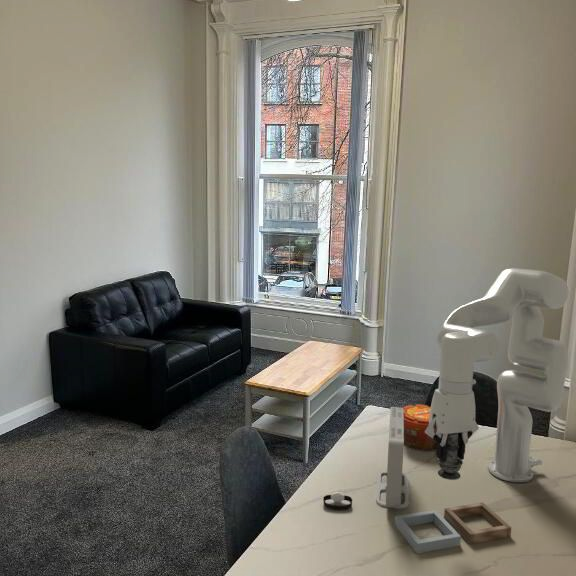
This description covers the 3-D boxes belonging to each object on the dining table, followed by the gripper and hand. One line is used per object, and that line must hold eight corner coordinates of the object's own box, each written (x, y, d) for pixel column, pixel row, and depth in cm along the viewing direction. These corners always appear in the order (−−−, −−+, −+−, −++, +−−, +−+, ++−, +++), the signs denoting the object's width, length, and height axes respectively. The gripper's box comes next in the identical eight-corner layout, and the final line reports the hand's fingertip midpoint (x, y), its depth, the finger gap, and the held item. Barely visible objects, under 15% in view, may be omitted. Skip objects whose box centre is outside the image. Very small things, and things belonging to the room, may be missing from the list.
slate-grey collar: (435, 518, 141) (435, 509, 141) (460, 545, 130) (460, 536, 130) (394, 525, 138) (395, 516, 138) (417, 553, 127) (417, 543, 127)
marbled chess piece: (432, 468, 135) (436, 422, 133) (455, 468, 136) (459, 422, 134) (441, 480, 130) (445, 432, 128) (465, 480, 130) (469, 432, 128)
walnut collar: (482, 511, 145) (482, 502, 144) (510, 536, 134) (511, 527, 134) (444, 517, 142) (444, 508, 141) (469, 544, 131) (470, 534, 131)
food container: (414, 428, 196) (416, 400, 194) (455, 443, 184) (457, 413, 183) (387, 441, 185) (388, 411, 184) (428, 458, 174) (430, 426, 172)
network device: (408, 517, 142) (412, 444, 138) (374, 512, 143) (377, 440, 140) (407, 469, 166) (411, 406, 163) (378, 466, 168) (381, 404, 165)
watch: (351, 502, 149) (352, 490, 148) (352, 512, 144) (353, 499, 143) (323, 501, 149) (323, 488, 148) (323, 511, 144) (323, 498, 144)
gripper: (476, 377, 135) (470, 447, 138) (415, 382, 130) (411, 455, 133) (495, 387, 128) (489, 461, 131) (432, 393, 123) (427, 469, 126)
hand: (450, 457), depth 132 cm, fingers closed on marbled chess piece, 4 cm apart
